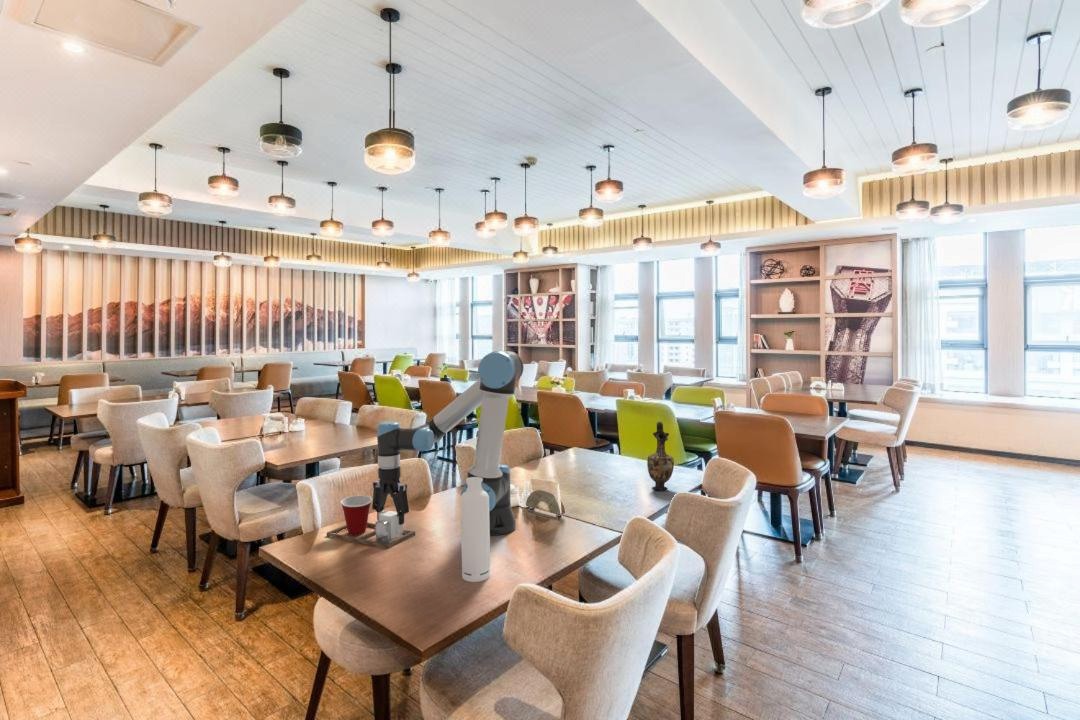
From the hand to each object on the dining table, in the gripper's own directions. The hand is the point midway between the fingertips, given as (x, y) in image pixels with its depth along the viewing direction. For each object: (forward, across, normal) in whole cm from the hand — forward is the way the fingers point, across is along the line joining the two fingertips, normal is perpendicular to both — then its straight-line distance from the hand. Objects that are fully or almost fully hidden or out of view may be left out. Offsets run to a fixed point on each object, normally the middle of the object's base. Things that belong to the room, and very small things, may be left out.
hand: (390, 531), depth 184 cm
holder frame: (+2, +7, +2) cm, 8 cm away
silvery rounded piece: (+2, -2, +6) cm, 7 cm away
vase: (+2, -70, -97) cm, 120 cm away
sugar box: (+2, 0, 0) cm, 2 cm away
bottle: (+2, -45, +14) cm, 47 cm away
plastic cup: (+2, +14, +2) cm, 14 cm away
